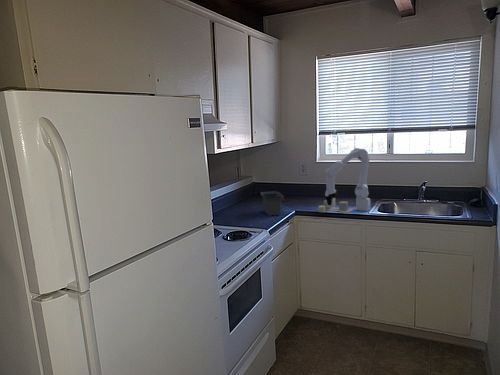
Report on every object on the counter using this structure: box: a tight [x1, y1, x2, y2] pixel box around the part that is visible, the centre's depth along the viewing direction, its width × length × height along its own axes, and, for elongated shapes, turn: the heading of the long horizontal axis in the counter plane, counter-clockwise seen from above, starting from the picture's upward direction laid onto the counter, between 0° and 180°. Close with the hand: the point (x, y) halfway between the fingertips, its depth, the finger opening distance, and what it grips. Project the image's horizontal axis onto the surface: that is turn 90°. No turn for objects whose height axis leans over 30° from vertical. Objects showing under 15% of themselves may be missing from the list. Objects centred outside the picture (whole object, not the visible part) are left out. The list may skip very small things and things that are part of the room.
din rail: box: [322, 199, 354, 213], centre depth 272 cm, size 22×8×6 cm, turn 55°
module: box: [325, 197, 336, 208], centre depth 264 cm, size 5×4×6 cm
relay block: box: [317, 205, 326, 213], centre depth 269 cm, size 4×4×4 cm
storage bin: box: [260, 190, 285, 217], centre depth 271 cm, size 21×16×14 cm
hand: (330, 204), depth 264 cm, fingers closed on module, 4 cm apart
